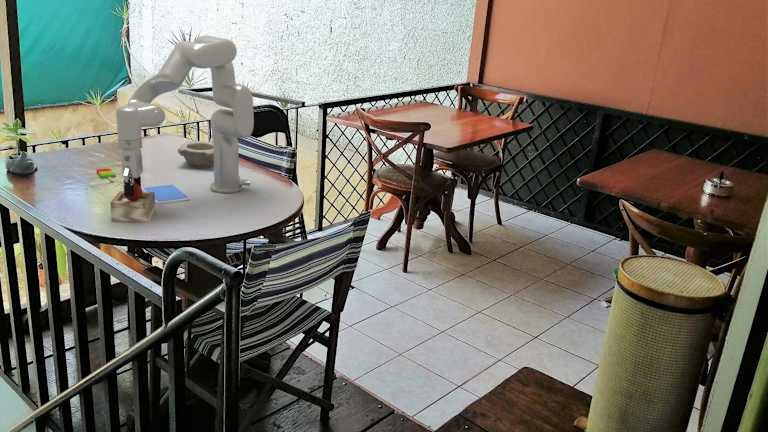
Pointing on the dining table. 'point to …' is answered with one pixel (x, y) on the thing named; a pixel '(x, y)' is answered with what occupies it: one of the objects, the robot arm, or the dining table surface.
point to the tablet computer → (167, 194)
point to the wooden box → (133, 207)
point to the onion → (137, 193)
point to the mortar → (198, 153)
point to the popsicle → (106, 174)
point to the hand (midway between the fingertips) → (132, 191)
